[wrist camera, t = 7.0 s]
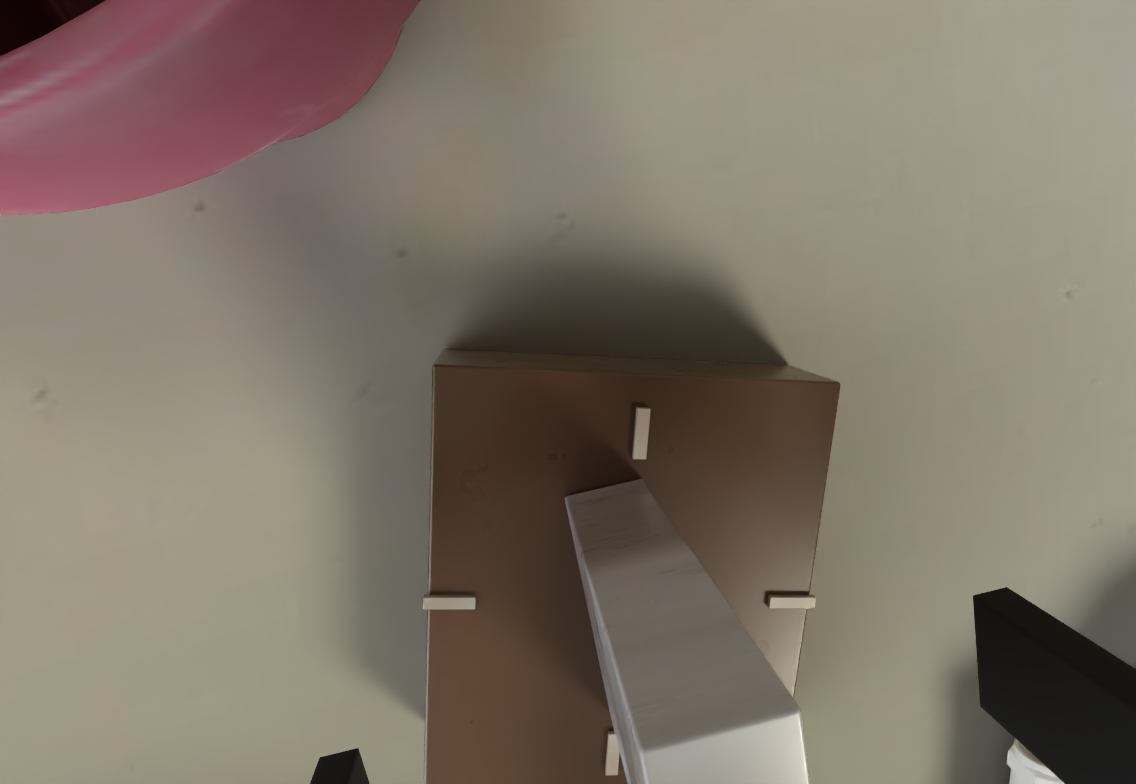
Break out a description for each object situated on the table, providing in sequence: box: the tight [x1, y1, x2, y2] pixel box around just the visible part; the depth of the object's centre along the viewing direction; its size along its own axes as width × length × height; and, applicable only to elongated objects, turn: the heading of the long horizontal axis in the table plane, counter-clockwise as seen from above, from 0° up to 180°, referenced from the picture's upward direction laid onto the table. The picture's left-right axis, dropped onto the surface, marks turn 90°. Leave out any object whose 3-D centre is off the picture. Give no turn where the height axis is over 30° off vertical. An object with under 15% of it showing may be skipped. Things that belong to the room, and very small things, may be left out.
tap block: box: [423, 349, 840, 784], centre depth 19 cm, size 11×13×3 cm
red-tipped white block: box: [565, 479, 811, 784], centre depth 13 cm, size 7×2×9 cm, turn 11°
